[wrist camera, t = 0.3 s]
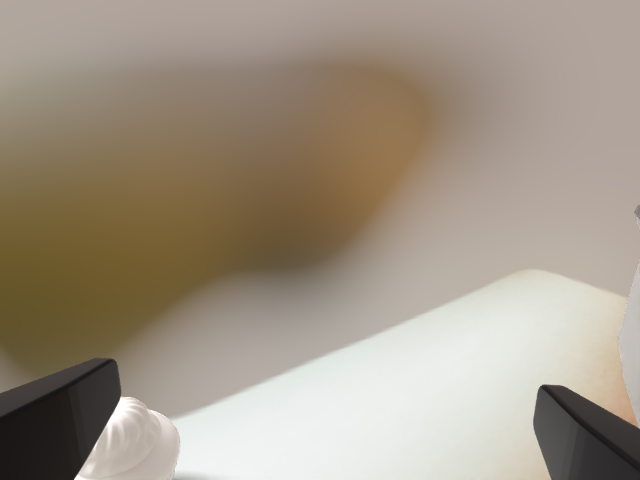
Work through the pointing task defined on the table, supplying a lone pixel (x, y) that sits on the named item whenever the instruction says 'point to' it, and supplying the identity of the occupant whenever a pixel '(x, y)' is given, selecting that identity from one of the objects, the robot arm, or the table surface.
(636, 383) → the chalice
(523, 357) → the table surface
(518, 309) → the table surface
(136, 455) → the muffin
